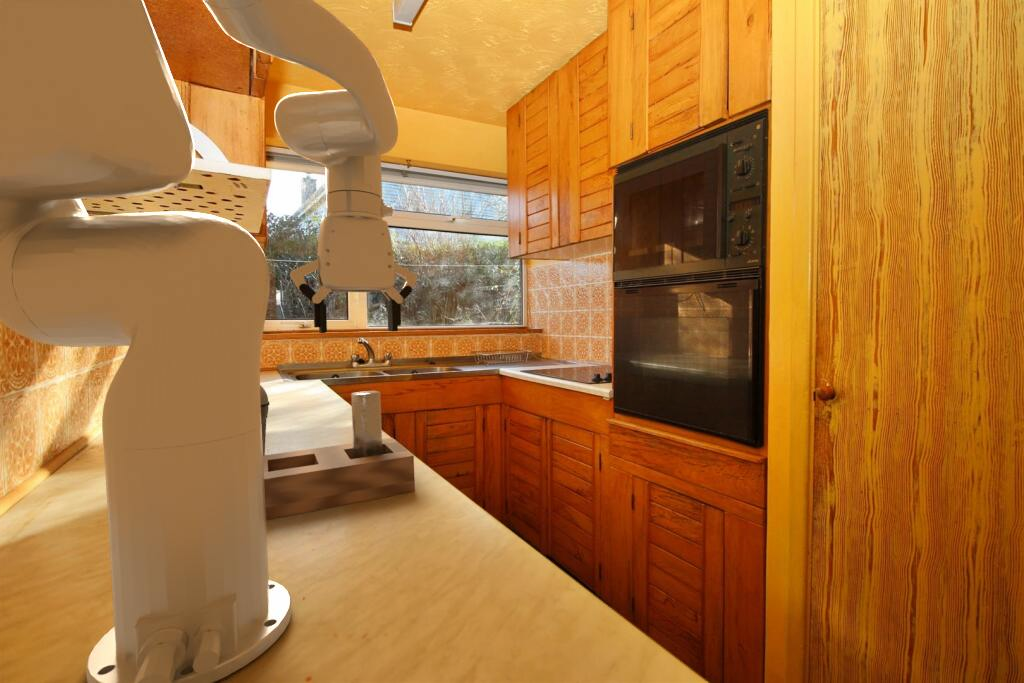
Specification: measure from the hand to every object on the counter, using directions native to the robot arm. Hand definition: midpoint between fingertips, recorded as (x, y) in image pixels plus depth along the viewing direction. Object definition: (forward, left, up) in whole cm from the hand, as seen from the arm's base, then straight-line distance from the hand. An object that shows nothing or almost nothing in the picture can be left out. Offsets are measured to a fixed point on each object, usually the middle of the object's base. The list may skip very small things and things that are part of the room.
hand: (359, 332), depth 67 cm
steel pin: (0, -1, -21) cm, 21 cm away
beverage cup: (+12, +15, -23) cm, 30 cm away
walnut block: (0, +4, -22) cm, 23 cm away
